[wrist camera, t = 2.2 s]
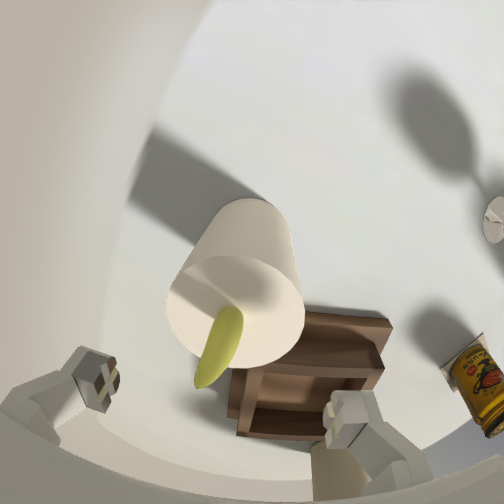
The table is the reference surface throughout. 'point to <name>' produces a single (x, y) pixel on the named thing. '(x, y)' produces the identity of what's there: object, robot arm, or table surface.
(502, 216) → the wineglass
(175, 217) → the table surface
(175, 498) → the robot arm
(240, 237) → the candle
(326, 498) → the travel mug
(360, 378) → the candle holder
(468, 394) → the condiment
